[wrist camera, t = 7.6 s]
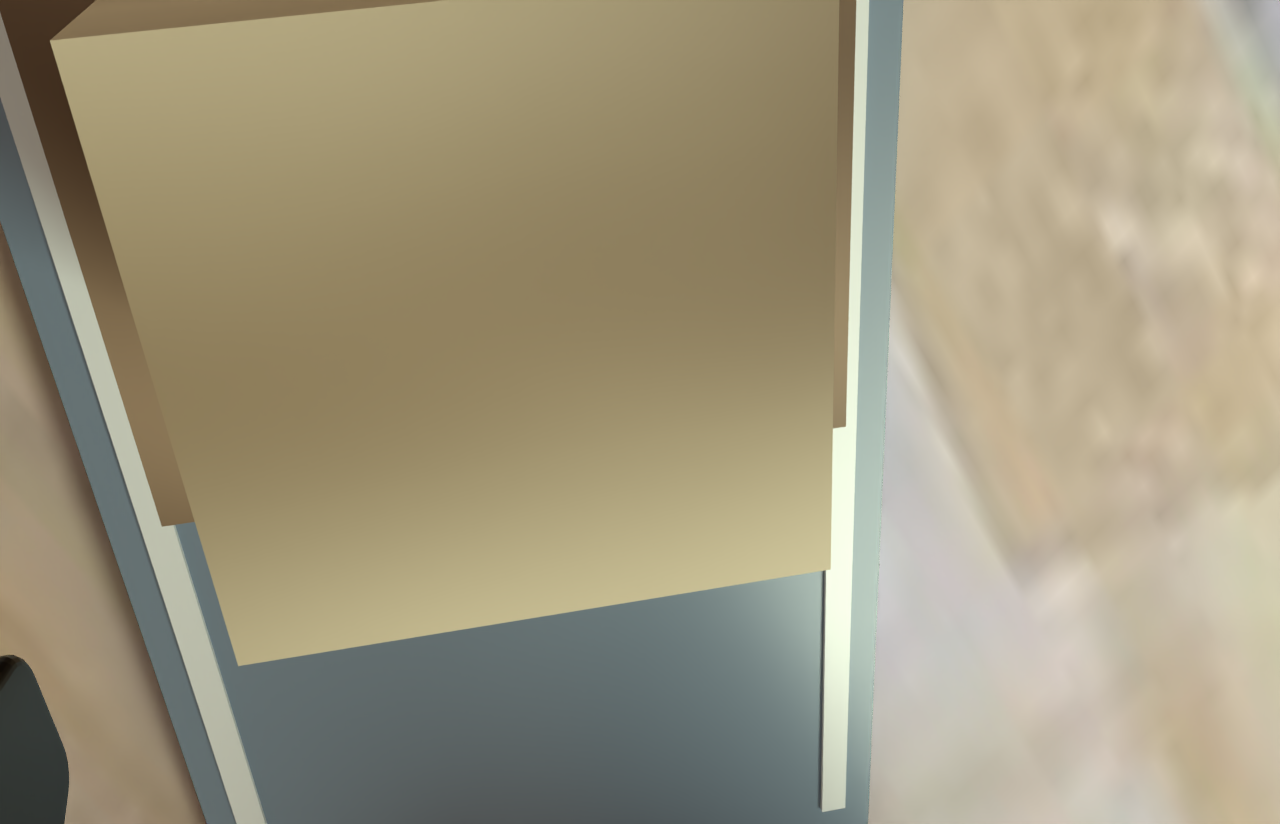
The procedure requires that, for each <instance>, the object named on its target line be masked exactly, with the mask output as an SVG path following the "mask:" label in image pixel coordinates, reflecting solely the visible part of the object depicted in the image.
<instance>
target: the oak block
mask: <svg viewBox="0 0 1280 824" xmlns="http://www.w3.org/2000/svg"><path fill="white" fill-rule="evenodd" d="M50 43H51V46H52V50H53V53H54V56H55V60H56V63H57V66H58V70H59V73H60V76H61V79H62V83H63V86H64V89H65V93H66V96H67V99H68V103H69V106H70V109H71V113H72V116H73V119H74V123H75V126H76V129H77V133H78V136H79V139H80V143H81V146H82V149H83V152H84V156H85V159H86V162H87V166H88V169H89V172H90V176H91V179H92V182H93V186H94V189H95V192H96V196H97V199H98V202H99V206H100V209H101V212H102V216H103V219H104V222H105V225H106V229H107V232H108V235H109V239H110V242H111V245H112V249H113V252H114V255H115V259H116V262H117V265H118V269H119V272H120V275H121V279H122V282H123V285H124V289H125V292H126V295H127V298H128V302H129V305H130V308H131V312H132V315H133V318H134V322H135V325H136V328H137V332H138V335H139V338H140V342H141V345H142V348H143V352H144V355H145V358H146V362H147V365H148V368H149V371H150V375H151V378H152V381H153V385H154V388H155V391H156V395H157V398H158V401H159V405H160V408H161V411H162V415H163V418H164V421H165V425H166V428H167V431H168V435H169V438H170V441H171V445H172V448H173V451H174V454H175V458H176V461H177V464H178V468H179V471H180V474H181V478H182V481H183V484H184V488H185V491H186V494H187V498H188V501H189V504H190V508H191V511H192V514H193V518H194V521H195V524H196V527H197V531H198V534H199V537H200V541H201V544H202V547H203V551H204V554H205V557H206V561H207V564H208V567H209V571H210V574H211V577H212V581H213V584H214V587H215V591H216V594H217V597H218V600H219V604H220V607H221V610H222V614H223V617H224V620H225V624H226V627H227V630H228V634H229V637H230V640H231V644H232V647H233V650H234V654H235V657H236V660H237V664H238V666H242V665H248V664H254V663H260V662H267V661H273V660H279V659H285V658H291V657H297V656H303V655H310V654H316V653H322V652H328V651H334V650H340V649H346V648H352V647H359V646H365V645H371V644H377V643H383V642H389V641H395V640H401V639H408V638H414V637H420V636H426V635H432V634H438V633H444V632H451V631H457V630H463V629H469V628H475V627H481V626H487V625H493V624H500V623H506V622H512V621H518V620H524V619H530V618H536V617H542V616H549V615H555V614H561V613H567V612H573V611H579V610H585V609H592V608H598V607H604V606H610V605H616V604H622V603H628V602H634V601H641V600H647V599H653V598H659V597H665V596H671V595H677V594H683V593H690V592H696V591H702V590H708V589H714V588H720V587H726V586H733V585H739V584H745V583H751V582H757V581H763V580H769V579H775V578H782V577H788V576H794V575H800V574H806V573H812V572H818V571H824V570H831V518H832V452H833V386H834V320H835V254H836V188H837V122H838V56H839V0H96V1H95V2H94V3H92V4H91V5H90V6H89V7H88V8H87V9H85V10H84V11H83V12H82V13H81V14H80V15H79V16H77V17H76V18H75V19H74V20H73V21H72V22H71V23H69V24H68V25H67V26H66V27H65V28H64V29H62V30H61V31H60V32H59V33H58V34H57V35H56V36H54V37H53V38H52V39H51V40H50Z"/></svg>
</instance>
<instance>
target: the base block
mask: <svg viewBox="0 0 1280 824" xmlns="http://www.w3.org/2000/svg"><path fill="white" fill-rule="evenodd" d="M95 1H96V0H0V13H1V17H2V20H3V23H4V26H5V29H6V33H7V36H8V39H9V42H10V45H11V48H12V52H13V55H14V58H15V61H16V64H17V68H18V71H19V74H20V77H21V80H22V83H23V87H24V90H25V93H26V96H27V99H28V103H29V106H30V109H31V112H32V115H33V118H34V122H35V125H36V128H37V131H38V134H39V138H40V141H41V144H42V147H43V150H44V153H45V157H46V160H47V163H48V166H49V169H50V172H51V176H52V179H53V182H54V185H55V188H56V192H57V195H58V198H59V201H60V204H61V207H62V211H63V214H64V217H65V220H66V223H67V227H68V230H69V233H70V236H71V239H72V242H73V246H74V249H75V252H76V255H77V258H78V262H79V265H80V268H81V271H82V274H83V277H84V281H85V284H86V287H87V290H88V293H89V296H90V300H91V303H92V306H93V309H94V312H95V316H96V319H97V322H98V325H99V328H100V331H101V335H102V338H103V341H104V344H105V347H106V351H107V354H108V357H109V360H110V363H111V366H112V370H113V373H114V376H115V379H116V382H117V386H118V389H119V392H120V395H121V398H122V401H123V405H124V408H125V411H126V414H127V417H128V421H129V424H130V427H131V430H132V433H133V436H134V440H135V443H136V446H137V449H138V452H139V455H140V459H141V462H142V465H143V468H144V471H145V475H146V478H147V481H148V484H149V487H150V490H151V494H152V497H153V500H154V503H155V506H156V510H157V513H158V516H159V519H160V522H161V525H162V527H163V526H170V525H177V524H184V523H191V522H195V521H194V518H193V514H192V511H191V508H190V504H189V501H188V498H187V494H186V491H185V488H184V484H183V481H182V478H181V474H180V471H179V468H178V464H177V461H176V458H175V454H174V451H173V448H172V445H171V441H170V438H169V435H168V431H167V428H166V425H165V421H164V418H163V415H162V411H161V408H160V405H159V401H158V398H157V395H156V391H155V388H154V385H153V381H152V378H151V375H150V371H149V368H148V365H147V362H146V358H145V355H144V352H143V348H142V345H141V342H140V338H139V335H138V332H137V328H136V325H135V322H134V318H133V315H132V312H131V308H130V305H129V302H128V298H127V295H126V292H125V289H124V285H123V282H122V279H121V275H120V272H119V269H118V265H117V262H116V259H115V255H114V252H113V249H112V245H111V242H110V239H109V235H108V232H107V229H106V225H105V222H104V219H103V216H102V212H101V209H100V206H99V202H98V199H97V196H96V192H95V189H94V186H93V182H92V179H91V176H90V172H89V169H88V166H87V162H86V159H85V156H84V152H83V149H82V146H81V143H80V139H79V136H78V133H77V129H76V126H75V123H74V119H73V116H72V113H71V109H70V106H69V103H68V99H67V96H66V93H65V89H64V86H63V83H62V79H61V76H60V73H59V70H58V66H57V63H56V60H55V56H54V53H53V50H52V46H51V43H50V40H51V39H52V38H53V37H54V36H56V35H57V34H58V33H59V32H60V31H61V30H62V29H64V28H65V27H66V26H67V25H68V24H69V23H71V22H72V21H73V20H74V19H75V18H76V17H77V16H79V15H80V14H81V13H82V12H83V11H84V10H85V9H87V8H88V7H89V6H90V5H91V4H92V3H94V2H95ZM855 37H856V0H839V56H838V122H837V188H836V254H835V320H834V386H833V429H834V428H840V427H846V402H847V361H848V321H849V280H850V240H851V199H852V159H853V118H854V78H855Z"/></svg>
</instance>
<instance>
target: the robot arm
mask: <svg viewBox="0 0 1280 824" xmlns="http://www.w3.org/2000/svg"><path fill="white" fill-rule="evenodd" d="M68 788H69V770H68V761H67V757H66V752H65V749H64V746H63V744H62V741H61V739H60V737H59V734H58V732H57V729H56V727H55V724H54V722H53V720H52V717H51V715H50V712H49V710H48V707H47V705H46V703H45V700H44V698H43V695H42V693H41V690H40V688H39V685H38V683H37V681H36V678H35V676H34V674H33V672H32V670H31V668H30V667H29V665H28V664H27V663H26V662H25V661H24V660H23V659H21V658H19V657H16V656H14V655H5V656H0V824H64V820H65V813H66V805H67V797H68Z"/></svg>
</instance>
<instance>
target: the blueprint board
mask: <svg viewBox="0 0 1280 824" xmlns="http://www.w3.org/2000/svg"><path fill="white" fill-rule="evenodd" d="M902 20H903V0H856V37H855V78H854V118H853V159H852V199H851V240H850V280H849V321H848V361H847V402H846V427H840V428H834V429H833V452H832V518H831V570H824V571H818V572H812V573H806V574H800V575H794V576H788V577H782V578H775V579H769V580H763V581H757V582H751V583H745V584H739V585H733V586H726V587H720V588H714V589H708V590H702V591H696V592H690V593H683V594H677V595H671V596H665V597H659V598H653V599H647V600H641V601H634V602H628V603H622V604H616V605H610V606H604V607H598V608H592V609H585V610H579V611H573V612H567V613H561V614H555V615H549V616H542V617H536V618H530V619H524V620H518V621H512V622H506V623H500V624H493V625H487V626H481V627H475V628H469V629H463V630H457V631H451V632H444V633H438V634H432V635H426V636H420V637H414V638H408V639H401V640H395V641H389V642H383V643H377V644H371V645H365V646H359V647H352V648H346V649H340V650H334V651H328V652H322V653H316V654H310V655H303V656H297V657H291V658H285V659H279V660H273V661H267V662H260V663H254V664H248V665H242V666H238V664H237V660H236V657H235V654H234V650H233V647H232V644H231V640H230V637H229V634H228V630H227V627H226V624H225V620H224V617H223V614H222V610H221V607H220V604H219V600H218V597H217V594H216V591H215V587H214V584H213V581H212V577H211V574H210V571H209V567H208V564H207V561H206V557H205V554H204V551H203V547H202V544H201V541H200V537H199V534H198V531H197V527H196V524H195V522H191V523H184V524H177V525H170V526H163V527H162V525H161V522H160V519H159V516H158V513H157V510H156V506H155V503H154V500H153V497H152V494H151V490H150V487H149V484H148V481H147V478H146V475H145V471H144V468H143V465H142V462H141V459H140V455H139V452H138V449H137V446H136V443H135V440H134V436H133V433H132V430H131V427H130V424H129V421H128V417H127V414H126V411H125V408H124V405H123V401H122V398H121V395H120V392H119V389H118V386H117V382H116V379H115V376H114V373H113V370H112V366H111V363H110V360H109V357H108V354H107V351H106V347H105V344H104V341H103V338H102V335H101V331H100V328H99V325H98V322H97V319H96V316H95V312H94V309H93V306H92V303H91V300H90V296H89V293H88V290H87V287H86V284H85V281H84V277H83V274H82V271H81V268H80V265H79V262H78V258H77V255H76V252H75V249H74V246H73V242H72V239H71V236H70V233H69V230H68V227H67V223H66V220H65V217H64V214H63V211H62V207H61V204H60V201H59V198H58V195H57V192H56V188H55V185H54V182H53V179H52V176H51V172H50V169H49V166H48V163H47V160H46V157H45V153H44V150H43V147H42V144H41V141H40V138H39V134H38V131H37V128H36V125H35V122H34V118H33V115H32V112H31V109H30V106H29V103H28V99H27V96H26V93H25V90H24V87H23V83H22V80H21V77H20V74H19V71H18V68H17V64H16V61H15V58H14V55H13V52H12V48H11V45H10V42H9V39H8V36H7V33H6V29H5V26H4V23H3V20H2V17H1V13H0V222H1V225H2V228H3V231H4V233H5V236H6V239H7V242H8V245H9V248H10V251H11V254H12V257H13V260H14V263H15V266H16V269H17V271H18V274H19V277H20V280H21V283H22V286H23V289H24V292H25V295H26V298H27V301H28V304H29V306H30V309H31V312H32V315H33V318H34V321H35V324H36V327H37V330H38V333H39V336H40V339H41V341H42V344H43V347H44V350H45V353H46V356H47V359H48V362H49V365H50V368H51V371H52V374H53V376H54V379H55V382H56V385H57V388H58V391H59V394H60V397H61V400H62V403H63V406H64V409H65V411H66V414H67V417H68V420H69V423H70V426H71V429H72V432H73V435H74V438H75V441H76V444H77V446H78V449H79V452H80V455H81V458H82V461H83V464H84V467H85V470H86V473H87V476H88V479H89V481H90V484H91V487H92V490H93V493H94V496H95V499H96V502H97V505H98V508H99V511H100V514H101V516H102V519H103V522H104V525H105V528H106V531H107V534H108V537H109V540H110V543H111V546H112V549H113V551H114V554H115V557H116V560H117V563H118V566H119V569H120V572H121V575H122V578H123V581H124V584H125V586H126V589H127V592H128V595H129V598H130V601H131V604H132V607H133V610H134V613H135V616H136V619H137V621H138V624H139V627H140V630H141V633H142V636H143V639H144V642H145V645H146V648H147V651H148V654H149V656H150V659H151V662H152V665H153V668H154V671H155V674H156V677H157V680H158V683H159V686H160V689H161V691H162V694H163V697H164V700H165V703H166V706H167V709H168V712H169V715H170V718H171V721H172V724H173V726H174V729H175V732H176V735H177V738H178V741H179V744H180V747H181V750H182V753H183V756H184V759H185V762H186V764H187V767H188V770H189V773H190V776H191V779H192V782H193V785H194V788H195V791H196V794H197V797H198V799H199V802H200V805H201V808H202V811H203V814H204V817H205V820H206V823H207V824H868V807H869V784H870V761H871V738H872V715H873V691H874V668H875V645H876V622H877V599H878V576H879V553H880V529H881V506H882V483H883V460H884V437H885V414H886V391H887V367H888V344H889V321H890V298H891V275H892V252H893V229H894V205H895V182H896V159H897V136H898V113H899V90H900V67H901V43H902Z"/></svg>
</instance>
